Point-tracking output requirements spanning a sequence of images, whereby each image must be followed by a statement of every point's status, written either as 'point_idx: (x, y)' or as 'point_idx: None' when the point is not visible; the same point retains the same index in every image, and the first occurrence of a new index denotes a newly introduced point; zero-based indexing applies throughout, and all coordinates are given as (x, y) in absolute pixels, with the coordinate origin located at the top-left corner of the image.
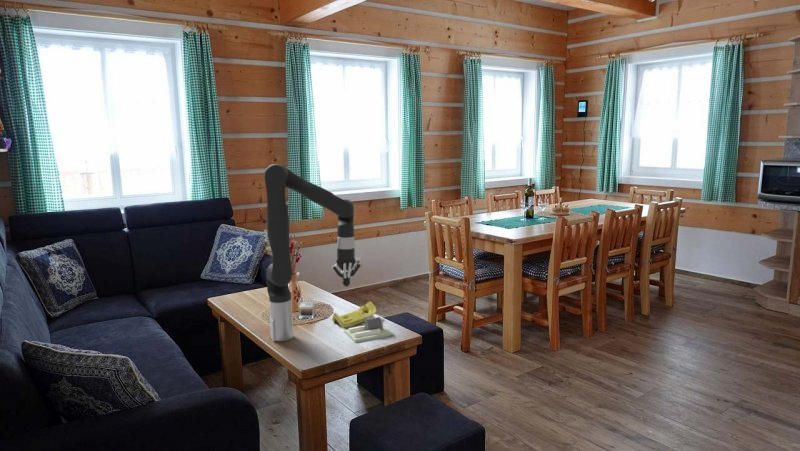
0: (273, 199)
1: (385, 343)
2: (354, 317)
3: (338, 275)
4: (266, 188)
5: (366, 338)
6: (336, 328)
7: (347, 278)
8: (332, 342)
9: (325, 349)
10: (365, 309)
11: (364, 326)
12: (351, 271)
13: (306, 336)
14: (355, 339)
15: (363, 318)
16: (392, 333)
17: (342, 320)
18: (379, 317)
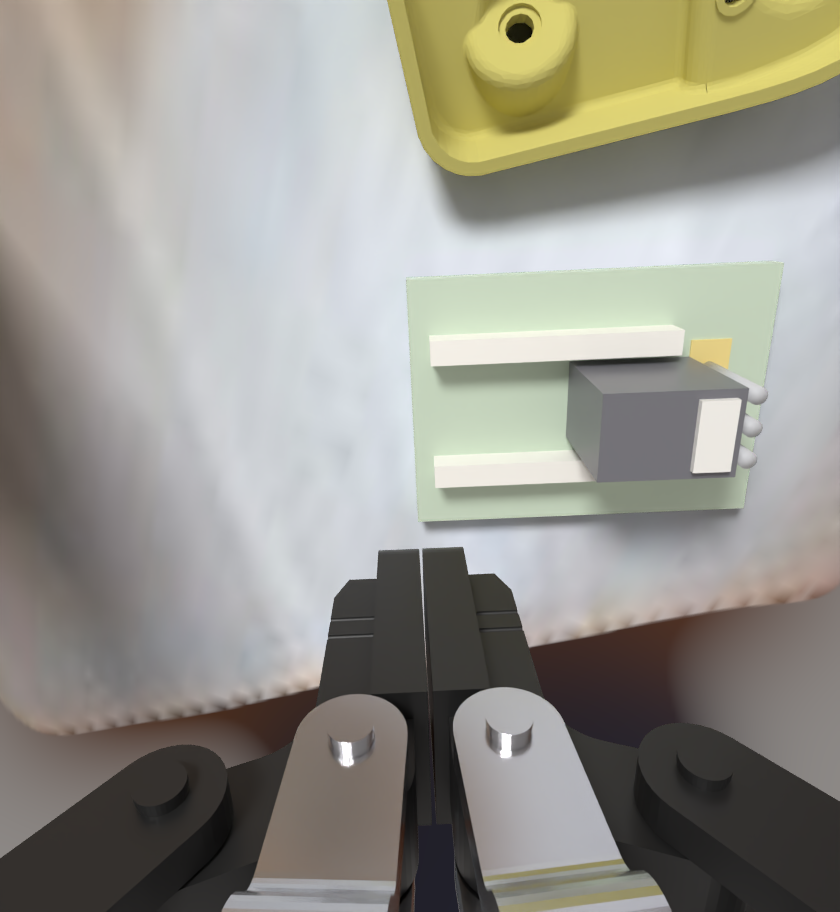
0: None
1: (604, 603)
2: (612, 7)
3: (121, 813)
4: None
5: (512, 515)
6: (368, 130)
7: (451, 814)
8: (262, 441)
9: (191, 537)
10: None
11: (580, 359)
12: (763, 899)
13: (63, 216)
14: (426, 516)
15: (676, 121)
16: (732, 506)
17: (458, 34)
18: (731, 466)
